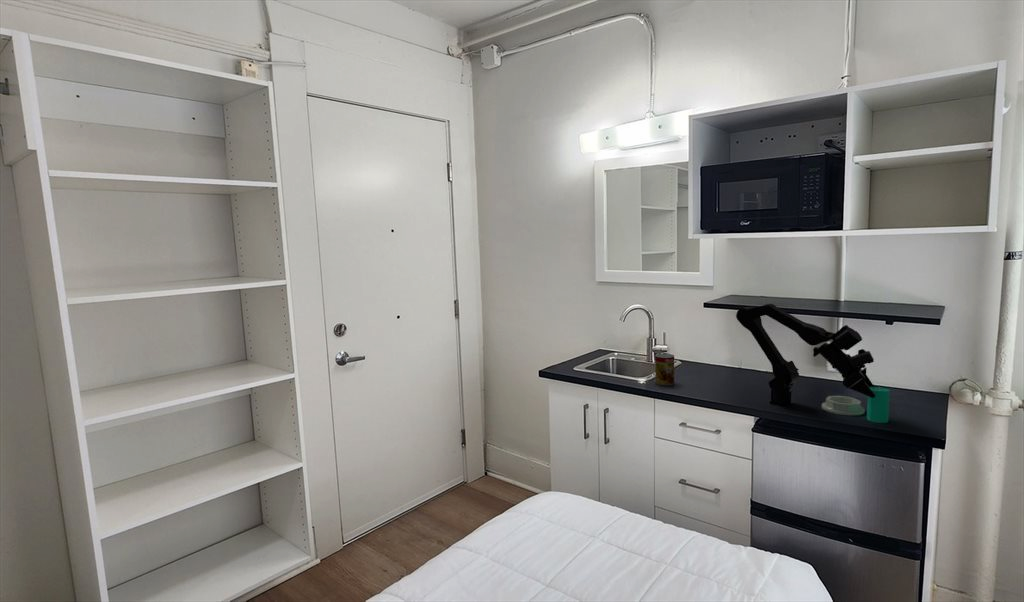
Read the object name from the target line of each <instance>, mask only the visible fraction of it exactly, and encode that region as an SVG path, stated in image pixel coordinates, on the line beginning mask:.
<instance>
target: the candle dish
mask: <svg viewBox="0 0 1024 602" xmlns="http://www.w3.org/2000/svg"><path fill="white" fill-rule="evenodd" d="M821 409H822V410H824V411H826V412H828V413H831V414H835V415H841V416H851V417H852V416H853V417H855V416H862V415H864V414H865V412H866V409H865V407H863V406H862V401H861V400H859V399H858V398H857V399H856V398H855V397H851V396H844V395H829V396H827V397H826V398H825V402H822V403H821Z"/></svg>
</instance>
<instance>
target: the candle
mask: <svg viewBox="0 0 1024 602" xmlns="http://www.w3.org/2000/svg"><path fill="white" fill-rule="evenodd" d="M869 388H870V389H871V390H872V392H873V393H874V394H875V397H874V398H871V397H869V396H867V409H866V420H868V421H870V422H873V423H879V424H881V423H882V424H884V423H885V424H886V423H888V422H889V414H890V413H889V411H890V397H891V396H890V392H891V390H890V389H887V388H883V387H880V386H879V387H876V386H874V387H869Z"/></svg>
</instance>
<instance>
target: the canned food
mask: <svg viewBox="0 0 1024 602" xmlns="http://www.w3.org/2000/svg"><path fill="white" fill-rule="evenodd" d="M654 358H655V360H654V364H655V365H654V366H655V367H654V371H655V372H654V373H655V377H654V380H655V384H657V385H660V386H672V385H674V384H675V355H674V354H671V353H656V354H655V357H654Z"/></svg>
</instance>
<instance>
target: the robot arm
mask: <svg viewBox="0 0 1024 602" xmlns="http://www.w3.org/2000/svg"><path fill="white" fill-rule="evenodd" d="M763 316H767V317H769V318H771V319H772V320H774V321H775V322H778V323H779V324H781V325H782V326H785V327H786V328H788V329H789V330H792V331H793V332H795V333H796V334H797V335H798V337H799V338H800V339H801V340H802V341H804V342H805V343H806V344H808V345H810V346H816V347H814V348H813V349H812V350H813V351H812V352H813V358H814V357H817V356H818V355H821V356H822V357H823V358H824V359H825V360H826V362H828V363H829V364H830V365H831V368H832V369H833V370H836V371H837V372H838V373H839V374H840V375H841V377H842V385H843V386H844V387H845V388H846V389H849V390H852V391H855V392H857V393H860V394H862V395H865V396H867V397H868V396H869V397H871V398H874V397H875V394H874V393H873V392H872V390H871V389H870V388H869V387H875V384H873V383H872V381H871V379H870V378H869V377H868V375H867V367H866V364H872V363H874V361H875V360H874V357H873V355H872V353H871V351H869V350H867V351H866V350H865V349H863V348H861V349H859V350H858V351H857V353H856V354H855V355H852V356H851V354H849V353H845V352H844V351H843V350H845V351H849V350H850V349H852V348H853V347H854V346H856V345H857V344H859V343H860V342H862V341H863V337H862V335H860V333H859V332H858V331H856V330H855V329H853V328H852V327H849V325H848V324H845V325H843V326H842V327H841V328H840V329H838V331H836V332H831V331H827V330H826V328H823V327H822V326H820V325H819V326H818V325H815V324H813V323H808V322H805V321H803V320H800V319H799V318H797V317H796V316H794V315H792V314H790V313H789V312H787V311H785V310H783V309H781V308H779V307H777V306H776V305H775V304H774V303H767V304H763V305H760V306H757V307H754V306H745V307H741V308H739V309H738V310H737V312H736V315H735V317H736V320H737V321H738V323H740V324H741V326H742V327H744V328H745V329H746V330H748V331H749V333H751V335H752V337H753V338H754V340H755V341H756V342H757V344H758V346H759V347H760V349H761V350H762V351H763V354H764V355H765V357H766V358H767V360H768V361H769V363H770V365H771V368H772V369H771V370H772V373H773V376H774V378H772V379H771V380H769V381H768V385H769V388H770V389H771V390H770V401H769V402H768V403H769V404H772V405H777V406H783V407H789V406H790V405H791V404H792V403H794V392H793V391H792V389H793V387H792V386H794V384H795V382H798V380H799V378H800V373H799V370H800V369H799V368H797V367H796V365H795V363H794V361H793V360H790V361H788V360H786V359H785V358H784V357H783V355H782V353H780V351H779V348H778V347H777V346H776V345H775V343H774V341H773V340H772V339H771V337H770V335H769V334H768V332H767V331H766V329H765V327H764V326H763V323H762V318H761V317H763ZM829 341H830V342H829ZM827 342H829V343H827ZM818 345H819V346H818ZM817 346H818V347H817Z"/></svg>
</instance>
